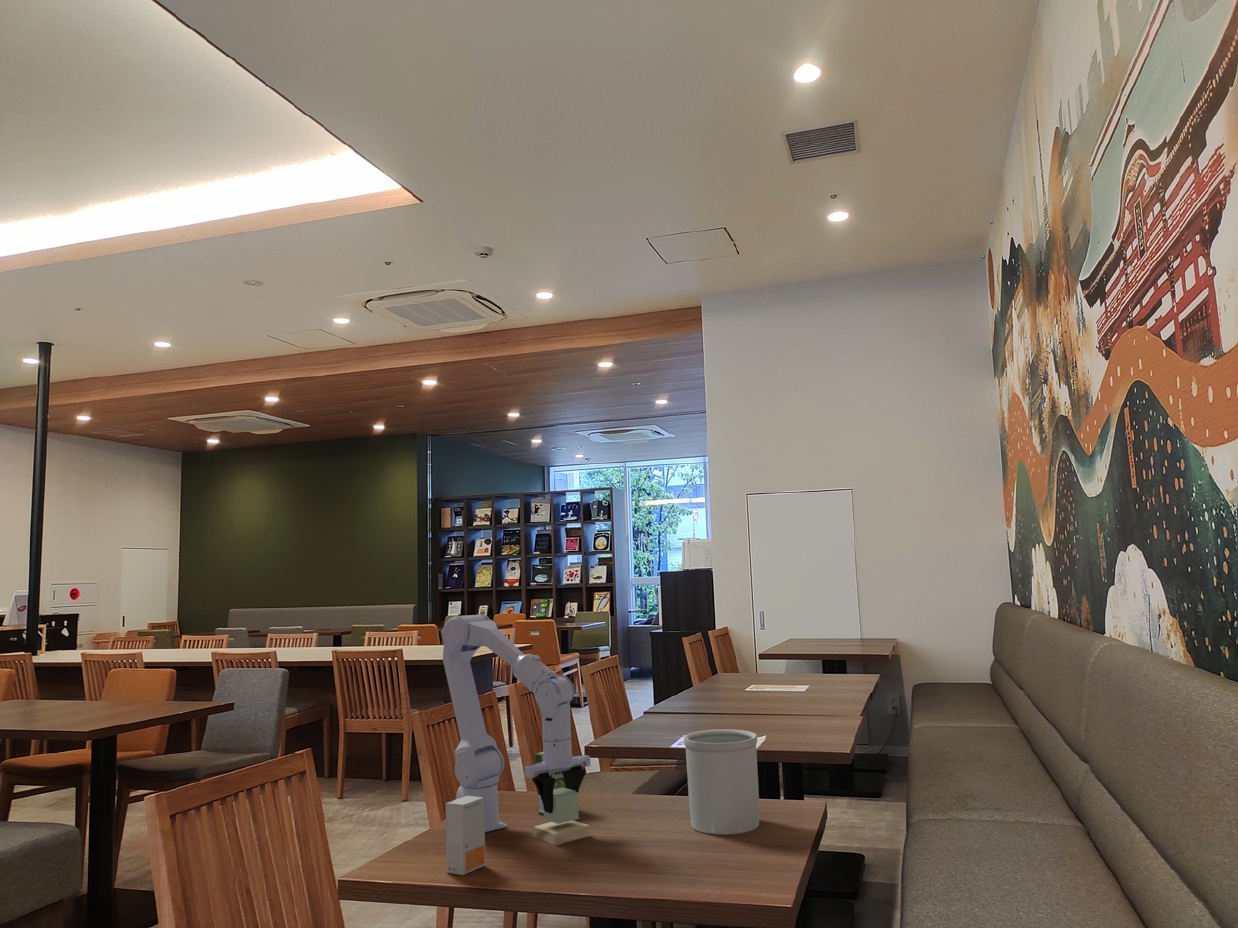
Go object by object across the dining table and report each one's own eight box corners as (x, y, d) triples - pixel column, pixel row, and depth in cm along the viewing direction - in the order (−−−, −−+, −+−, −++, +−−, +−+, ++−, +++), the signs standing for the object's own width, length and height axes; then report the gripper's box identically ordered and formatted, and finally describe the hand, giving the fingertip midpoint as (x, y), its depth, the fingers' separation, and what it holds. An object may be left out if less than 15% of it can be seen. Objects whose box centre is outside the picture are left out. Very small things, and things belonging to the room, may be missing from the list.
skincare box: (464, 876, 153) (462, 804, 154) (445, 873, 155) (444, 802, 156) (487, 865, 158) (484, 796, 159) (469, 862, 160) (467, 794, 162)
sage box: (543, 818, 174) (542, 791, 175) (564, 813, 177) (563, 786, 178) (557, 823, 170) (556, 795, 171) (578, 818, 173) (577, 790, 174)
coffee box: (543, 816, 189) (541, 753, 191) (537, 813, 192) (534, 752, 193) (575, 809, 194) (572, 748, 196) (568, 806, 196) (565, 746, 198)
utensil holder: (779, 824, 173) (772, 734, 176) (722, 840, 165) (715, 745, 167) (729, 811, 185) (723, 726, 188) (674, 825, 177) (668, 736, 179)
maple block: (533, 839, 174) (532, 826, 174) (566, 830, 179) (566, 817, 179) (555, 847, 168) (555, 834, 168) (589, 838, 173) (588, 825, 173)
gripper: (537, 746, 168) (539, 820, 167) (597, 735, 177) (601, 805, 175) (518, 742, 174) (520, 813, 172) (577, 731, 183) (581, 799, 181)
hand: (560, 809), depth 174 cm, fingers closed on sage box, 5 cm apart
